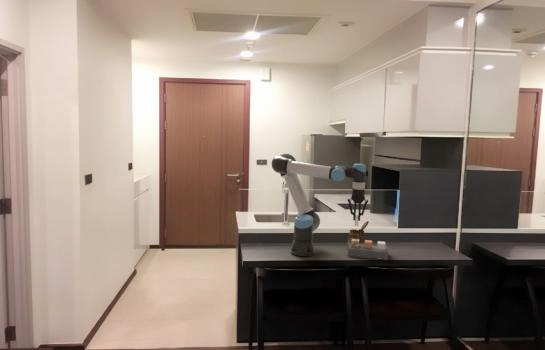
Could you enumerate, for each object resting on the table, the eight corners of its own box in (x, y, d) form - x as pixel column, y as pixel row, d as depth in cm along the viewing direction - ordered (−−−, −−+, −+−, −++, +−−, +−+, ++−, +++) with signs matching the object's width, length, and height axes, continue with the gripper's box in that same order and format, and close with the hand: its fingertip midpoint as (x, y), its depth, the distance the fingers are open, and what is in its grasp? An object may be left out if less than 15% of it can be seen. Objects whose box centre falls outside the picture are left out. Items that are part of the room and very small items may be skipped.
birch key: (351, 248, 253) (351, 240, 252) (351, 246, 257) (351, 238, 257) (358, 248, 252) (358, 241, 251) (358, 246, 256) (359, 239, 256)
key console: (347, 256, 250) (348, 248, 250) (348, 250, 262) (349, 242, 261) (387, 260, 245) (388, 252, 244) (386, 254, 257) (387, 246, 256)
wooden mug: (368, 249, 265) (370, 222, 262) (347, 248, 265) (349, 222, 263) (365, 245, 274) (367, 219, 271) (345, 244, 274) (347, 218, 272)
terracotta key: (364, 249, 251) (364, 242, 251) (364, 247, 256) (364, 239, 255) (371, 250, 250) (372, 242, 250) (371, 248, 255) (372, 240, 254)
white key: (377, 250, 249) (377, 243, 249) (377, 248, 254) (377, 241, 253) (384, 251, 248) (385, 244, 248) (384, 249, 253) (385, 241, 252)
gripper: (347, 188, 247) (345, 226, 251) (369, 190, 244) (367, 228, 248) (347, 186, 255) (345, 223, 258) (369, 188, 252) (367, 225, 255)
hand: (356, 225), depth 253 cm, fingers closed
